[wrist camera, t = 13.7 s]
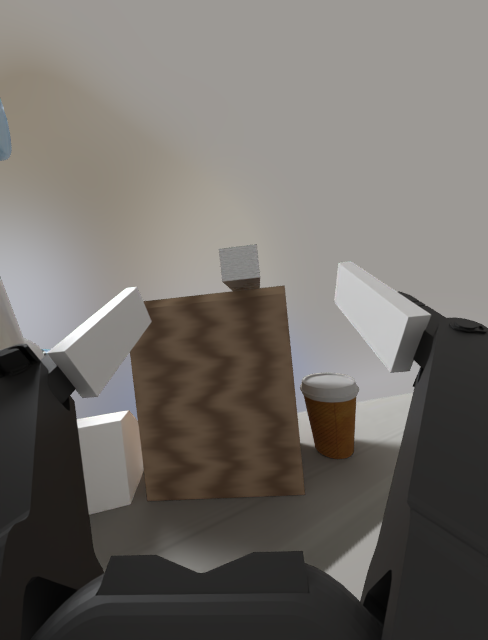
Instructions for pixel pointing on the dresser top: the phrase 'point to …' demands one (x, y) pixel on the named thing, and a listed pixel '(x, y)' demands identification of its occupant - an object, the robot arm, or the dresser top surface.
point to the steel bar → (240, 267)
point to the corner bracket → (110, 459)
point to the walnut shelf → (218, 397)
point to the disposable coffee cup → (331, 412)
